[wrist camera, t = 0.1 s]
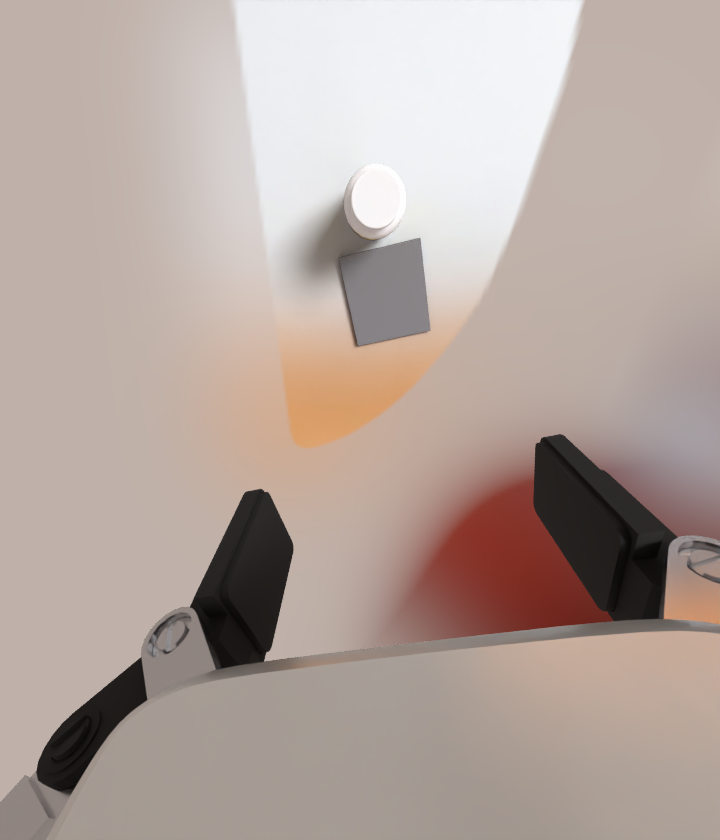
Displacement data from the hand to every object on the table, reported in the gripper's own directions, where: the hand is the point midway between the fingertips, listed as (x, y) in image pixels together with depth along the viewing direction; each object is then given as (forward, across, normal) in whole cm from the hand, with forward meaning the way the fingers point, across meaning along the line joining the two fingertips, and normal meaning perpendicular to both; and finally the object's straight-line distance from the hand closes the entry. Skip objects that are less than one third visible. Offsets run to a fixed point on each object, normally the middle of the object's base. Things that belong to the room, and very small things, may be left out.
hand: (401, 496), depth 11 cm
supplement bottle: (+31, -2, -11) cm, 33 cm away
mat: (+31, -2, -2) cm, 31 cm away
